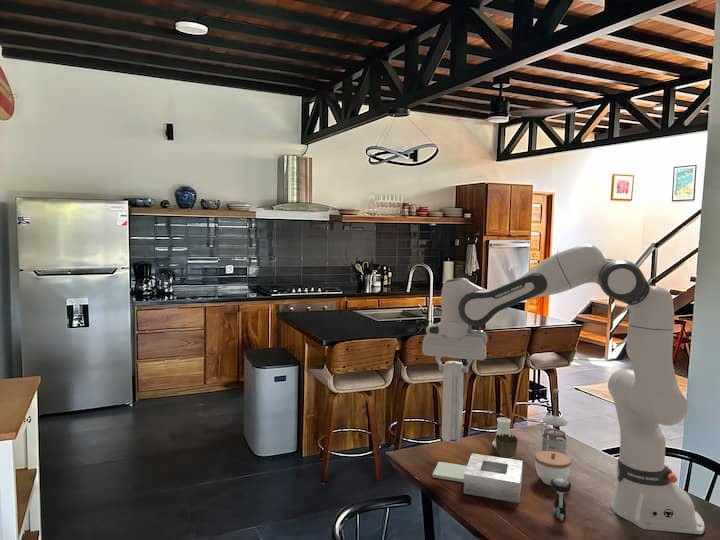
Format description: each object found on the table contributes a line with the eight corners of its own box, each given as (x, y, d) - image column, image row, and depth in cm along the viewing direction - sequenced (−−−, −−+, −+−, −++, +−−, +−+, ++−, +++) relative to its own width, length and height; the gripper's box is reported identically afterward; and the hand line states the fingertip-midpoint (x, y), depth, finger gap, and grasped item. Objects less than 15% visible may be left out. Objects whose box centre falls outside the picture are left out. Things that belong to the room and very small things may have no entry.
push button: (572, 523, 142) (573, 487, 141) (551, 520, 143) (552, 485, 143) (568, 510, 149) (569, 476, 148) (548, 508, 150) (549, 474, 149)
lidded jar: (532, 472, 173) (533, 444, 172) (566, 475, 171) (567, 447, 170) (536, 487, 162) (537, 458, 161) (573, 491, 160) (574, 461, 159)
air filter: (464, 437, 171) (466, 361, 170) (457, 444, 166) (459, 365, 164) (446, 433, 175) (447, 359, 173) (438, 439, 169) (440, 363, 168)
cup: (517, 465, 177) (518, 442, 177) (495, 463, 179) (496, 440, 178) (515, 456, 185) (516, 434, 184) (494, 454, 186) (494, 432, 186)
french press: (549, 467, 176) (551, 394, 175) (530, 453, 188) (532, 384, 186) (574, 464, 179) (577, 392, 177) (554, 450, 190) (557, 382, 188)
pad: (468, 469, 174) (468, 466, 174) (463, 482, 165) (463, 479, 165) (438, 464, 178) (438, 461, 178) (432, 477, 168) (432, 474, 168)
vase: (488, 445, 194) (489, 419, 193) (499, 440, 199) (500, 414, 198) (506, 452, 188) (507, 424, 188) (517, 446, 193) (518, 420, 193)
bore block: (522, 479, 167) (522, 460, 167) (519, 503, 152) (519, 483, 152) (471, 470, 173) (471, 453, 172) (463, 493, 158) (464, 473, 157)
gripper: (488, 329, 167) (487, 371, 168) (425, 324, 174) (424, 365, 175) (486, 332, 161) (485, 376, 162) (421, 327, 168) (420, 370, 169)
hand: (453, 371), depth 169 cm, fingers closed on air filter, 6 cm apart
